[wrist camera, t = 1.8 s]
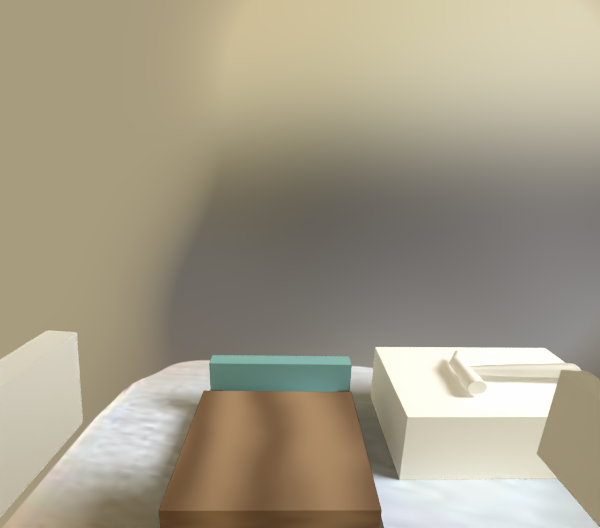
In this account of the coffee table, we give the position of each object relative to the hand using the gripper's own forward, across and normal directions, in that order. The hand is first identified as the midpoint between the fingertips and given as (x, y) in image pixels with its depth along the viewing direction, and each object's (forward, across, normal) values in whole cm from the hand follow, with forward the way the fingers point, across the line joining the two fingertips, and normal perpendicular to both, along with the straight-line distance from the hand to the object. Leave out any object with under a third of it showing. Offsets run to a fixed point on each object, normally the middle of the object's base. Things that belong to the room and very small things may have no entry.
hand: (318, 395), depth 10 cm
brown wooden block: (+16, -1, -22) cm, 28 cm away
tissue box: (+32, +25, -25) cm, 48 cm away
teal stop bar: (+35, -1, -26) cm, 44 cm away
